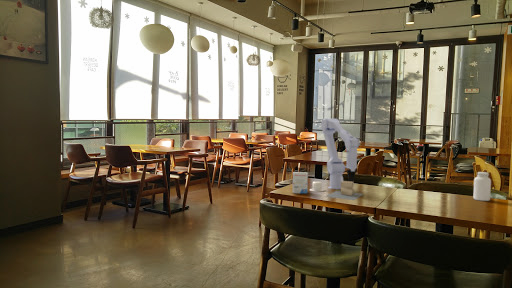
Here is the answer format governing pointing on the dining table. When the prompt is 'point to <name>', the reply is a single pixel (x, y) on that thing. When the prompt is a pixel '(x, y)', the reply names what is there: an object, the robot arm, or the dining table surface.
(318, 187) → the espresso cup
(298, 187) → the ink box
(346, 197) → the mat
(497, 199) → the dining table surface
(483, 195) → the pill bottle
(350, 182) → the beech block
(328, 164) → the robot arm
